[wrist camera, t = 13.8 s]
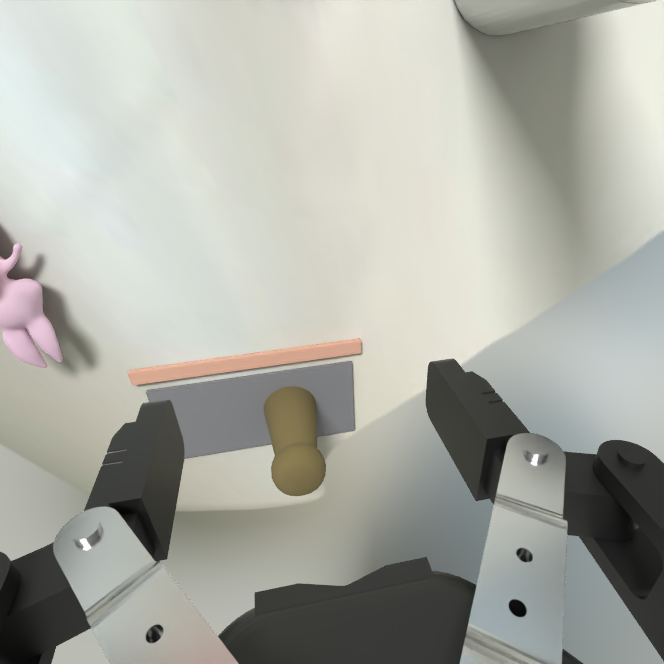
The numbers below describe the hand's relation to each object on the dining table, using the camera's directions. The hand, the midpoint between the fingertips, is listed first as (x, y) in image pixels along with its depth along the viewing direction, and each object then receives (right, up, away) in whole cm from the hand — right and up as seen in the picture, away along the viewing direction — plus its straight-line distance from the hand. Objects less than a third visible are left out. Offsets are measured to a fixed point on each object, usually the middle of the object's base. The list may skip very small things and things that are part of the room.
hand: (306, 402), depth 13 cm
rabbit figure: (-27, +7, +24) cm, 37 cm away
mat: (-8, -7, +35) cm, 37 cm away
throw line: (-8, -1, +32) cm, 33 cm away
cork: (-4, -6, +35) cm, 36 cm away
